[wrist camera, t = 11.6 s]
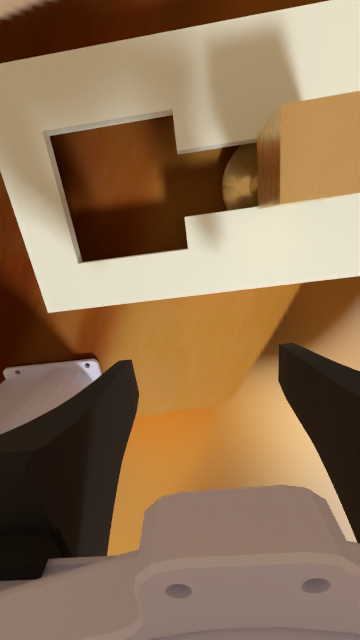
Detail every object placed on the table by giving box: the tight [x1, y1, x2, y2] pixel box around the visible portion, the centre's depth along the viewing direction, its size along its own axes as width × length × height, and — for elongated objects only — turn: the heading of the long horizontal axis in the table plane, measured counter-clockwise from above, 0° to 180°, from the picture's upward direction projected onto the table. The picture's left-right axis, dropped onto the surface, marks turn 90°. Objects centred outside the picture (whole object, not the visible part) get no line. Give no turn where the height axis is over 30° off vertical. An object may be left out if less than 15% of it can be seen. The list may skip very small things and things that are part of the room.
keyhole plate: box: [0, 0, 360, 313], centre depth 17 cm, size 24×14×4 cm, turn 97°
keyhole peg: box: [221, 91, 360, 211], centre depth 14 cm, size 6×6×9 cm
